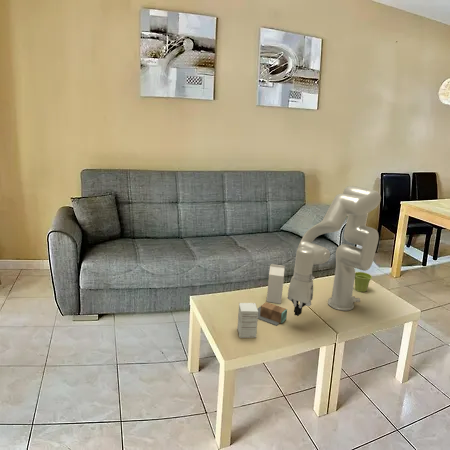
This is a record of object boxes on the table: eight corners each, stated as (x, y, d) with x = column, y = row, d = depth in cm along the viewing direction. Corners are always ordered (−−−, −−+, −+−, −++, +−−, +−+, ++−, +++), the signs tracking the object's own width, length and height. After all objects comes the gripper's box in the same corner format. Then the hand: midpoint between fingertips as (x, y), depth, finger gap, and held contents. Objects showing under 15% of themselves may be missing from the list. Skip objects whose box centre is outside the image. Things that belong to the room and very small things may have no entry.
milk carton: (280, 304, 193) (284, 268, 187) (266, 302, 194) (269, 266, 189) (281, 297, 199) (285, 263, 194) (267, 295, 201) (270, 261, 195)
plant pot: (348, 289, 213) (350, 274, 211) (357, 284, 220) (359, 270, 217) (364, 295, 207) (366, 280, 204) (372, 290, 213) (375, 276, 211)
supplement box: (236, 328, 169) (238, 302, 165) (253, 328, 170) (255, 302, 166) (238, 338, 162) (240, 311, 158) (256, 338, 163) (258, 311, 159)
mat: (286, 316, 181) (286, 315, 181) (276, 325, 173) (276, 324, 172) (259, 307, 188) (259, 306, 188) (249, 316, 180) (249, 315, 180)
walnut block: (287, 309, 177) (265, 301, 182) (282, 313, 172) (260, 306, 178) (286, 318, 178) (265, 311, 184) (281, 323, 174) (260, 315, 180)
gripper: (322, 278, 165) (316, 316, 170) (289, 268, 173) (285, 306, 178) (316, 283, 159) (310, 323, 164) (282, 273, 167) (278, 312, 171)
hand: (297, 314), depth 171 cm, fingers closed
